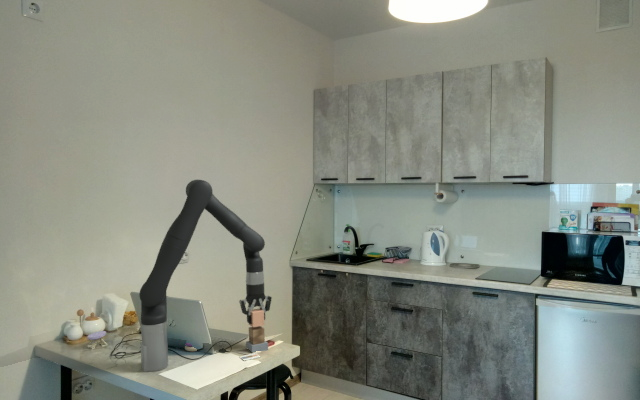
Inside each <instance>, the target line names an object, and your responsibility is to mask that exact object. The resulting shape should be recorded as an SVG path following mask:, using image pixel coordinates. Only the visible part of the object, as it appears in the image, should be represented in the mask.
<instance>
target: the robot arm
mask: <svg viewBox="0 0 640 400" xmlns="http://www.w3.org/2000/svg"><path fill="white" fill-rule="evenodd" d="M185 195H186V199H185V201H184V204H183V206H182V209H181V211H180V213H179V214H178V216H177V217H176V218H175V219H174V221H173V222H172V223H171V225H170V226H169V228H168V229H167V232H166V234H165V236H164V238H163V240H162V243H161V245H160V248H159V249H158V250H159V251H158V253H157V256H156V258H155V259H156V260H155V263H154V265H153V268H152V270H151V271H150V274H149V275H148V277H147V279H146V281H144V283H143V285H142V286H141V288H140V290H139V300H140V306H141V308H140V310H141V312H140V325H141V326H140V329H141V330H140V331H141V332H140V333H141V335H140V336H141V342H140V358H141V360H140V361H141V362H140V363H141V368H142V370H143V372H144V373H145V372H156V371H161V370H163V369H166V368H167V367H168V366H169V349H168V323H167V322H168V321H167V319H168V317H167V316H168V315H167V313H168V307H167V303H168V302H167V289H168V286H169V284H170V281H171V279H172V276H173V274H174V273H175V270H176V269H177V267H178V265H179V264H180V262H181V260H182V259H183V257H184V255H185V253H186V252H187V249H188V247H189V245H190V242H191V239H192V237H193V235H194V232H195V231H196V228H197V225H198V223H199V219H200V218H201V216H202V213H203V212H204V211H206V212H208V213H209V214H210V215H212V217H214V219H216V220H217V221H218V222H219V224H221V226H223V227H224V228H225V229H226V231H228V232H229V233H230V234H231V235H232V236H233V237H234V238H236V239H238V240H240V241H241V242H242V243H243V245H242V249H243V252H244V257H245V266H246V267H245V268H246V272H245V284H246V285H245V291H246V293H245V294H246V296H245V298H244V299H240V300H239V301H238V302H239V305H240V308H241V313H242V314H244V315H246V322H247V323H248V325H249V324H252V317H251V312H252V310H253V309H255V307H258V309H261V310H263V311H264V321H266V313H267V312H269V311H270V309H271V303H272V299H273V297H272V296H270V295H265V274H264V260H263V258H262V257H261V255H260V252H262V251H263V249H264V248H265V245H266V243H265V240H264V238H263V236H262V235H261V234H259V233H258V232H257V231H256V230H254V229H253V228H251V227H250V226H249V225H248V224H247V223H246V222H245V221H244V220H243V219H242V218H241V217H239V216H238V214H236V213H235V211H232V210H231V209H230V208H228V207H227V205H225V204H223V203H222V202H221V201H220V200H219V199H218V198H217V197H216V196H215V194H214V193H213V188H212V184H211V183H209V182H208V181H207V180H202V179H194V180H191V181H189V182H188V183H187V185H186V187H185ZM264 301H265V305H264ZM246 304H247V308H246Z"/></svg>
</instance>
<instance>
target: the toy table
mask: <svg viewBox="0 0 640 400" xmlns="http://www.w3.org/2000/svg"><path fill="white" fill-rule="evenodd" d="M105 336H107V331H105V330H99V331H95V332H92V333H90V334H88V335H87V336H86V337H87V338H86V339H87V340H90V342H88V344H87V345H92V346H91V347H90V349H91V348H94V347H95V346H96V347H97V344H99V343H100V344H101V345H108V343H107V342H106V341H105V340H104V339H103V337H105ZM101 345H100V346H101Z"/></svg>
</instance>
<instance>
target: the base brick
mask: <svg viewBox="0 0 640 400" xmlns="http://www.w3.org/2000/svg"><path fill="white" fill-rule="evenodd" d="M245 347H247V348H248V349H249V350H250V351H251V352H252V353H251V352H250V351H249V350H248V351H249V352H250V353H251V354H254V353H253V352H256V351H261V352H265V351H269V342H268V341H266V340H265V343H261V344H256V345H253V344H251V343H250V342H249V340H246V341H245Z"/></svg>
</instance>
